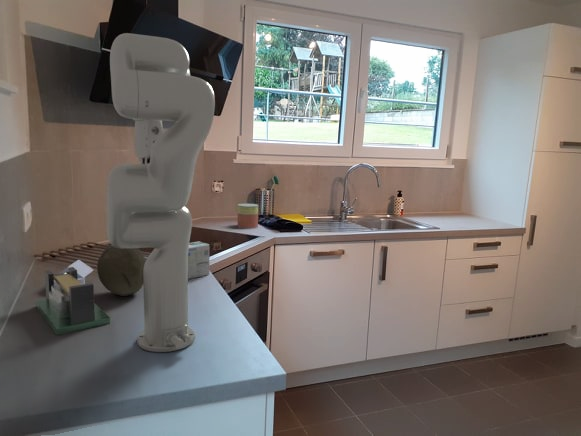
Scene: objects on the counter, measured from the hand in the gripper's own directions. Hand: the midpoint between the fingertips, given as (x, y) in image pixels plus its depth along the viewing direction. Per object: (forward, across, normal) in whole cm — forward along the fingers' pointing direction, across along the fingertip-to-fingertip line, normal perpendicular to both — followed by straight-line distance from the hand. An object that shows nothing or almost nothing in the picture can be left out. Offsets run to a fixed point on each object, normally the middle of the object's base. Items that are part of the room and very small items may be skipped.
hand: (148, 183), depth 123 cm
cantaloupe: (+33, +8, +5) cm, 35 cm away
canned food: (+33, +79, -88) cm, 123 cm away
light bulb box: (+33, +14, -20) cm, 42 cm away
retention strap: (+26, 0, +21) cm, 33 cm away
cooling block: (+33, 0, +21) cm, 39 cm away
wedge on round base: (+33, +24, +15) cm, 44 cm away
